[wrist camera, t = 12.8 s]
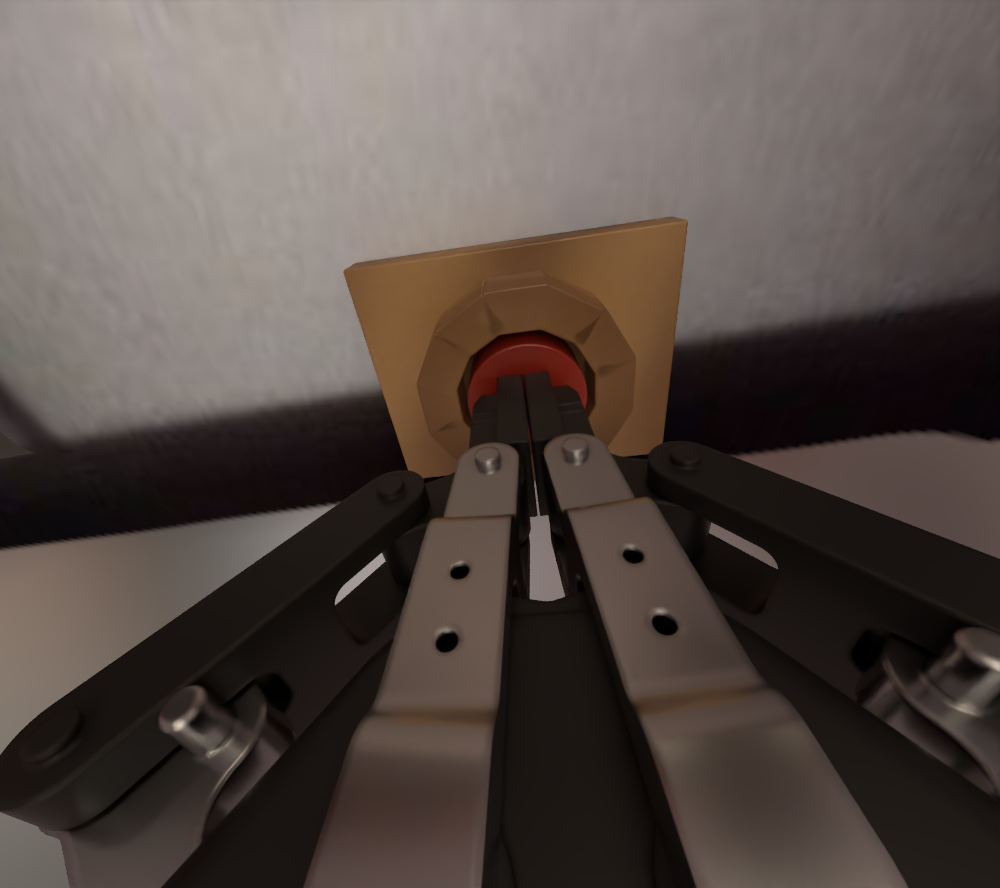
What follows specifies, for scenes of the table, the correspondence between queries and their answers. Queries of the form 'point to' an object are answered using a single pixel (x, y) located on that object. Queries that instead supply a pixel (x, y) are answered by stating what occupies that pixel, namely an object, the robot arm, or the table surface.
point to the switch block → (525, 328)
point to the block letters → (10, 448)
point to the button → (524, 364)
